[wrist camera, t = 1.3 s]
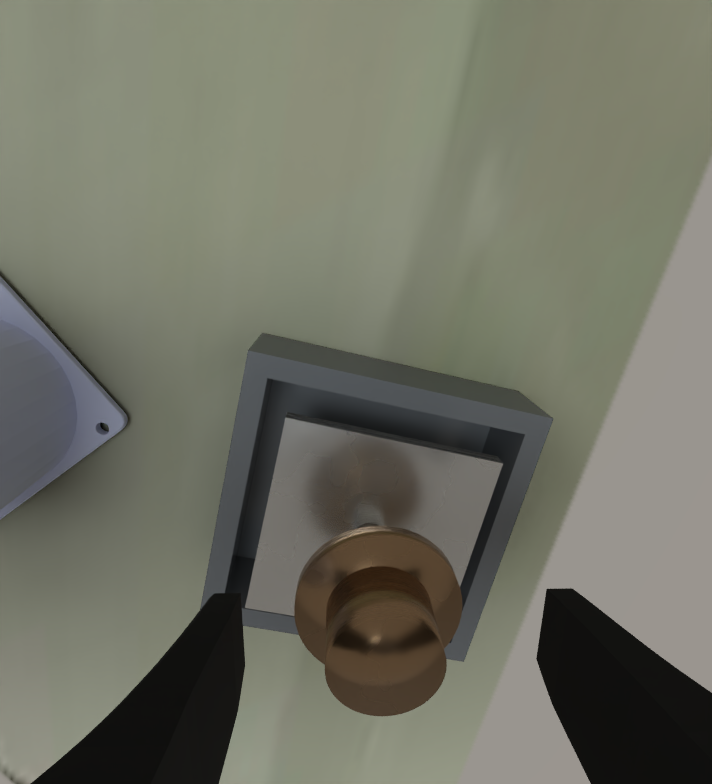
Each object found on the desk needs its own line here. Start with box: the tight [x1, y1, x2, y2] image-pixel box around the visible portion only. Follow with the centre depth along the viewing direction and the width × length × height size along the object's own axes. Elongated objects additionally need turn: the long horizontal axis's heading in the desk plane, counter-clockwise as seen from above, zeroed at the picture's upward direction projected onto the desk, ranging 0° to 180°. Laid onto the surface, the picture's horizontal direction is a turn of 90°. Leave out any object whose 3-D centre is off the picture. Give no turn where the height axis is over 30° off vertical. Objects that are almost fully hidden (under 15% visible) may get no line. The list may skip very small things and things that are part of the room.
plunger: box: [245, 412, 503, 716], centre depth 15 cm, size 8×8×6 cm
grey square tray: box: [200, 333, 553, 662], centre depth 20 cm, size 11×11×4 cm
